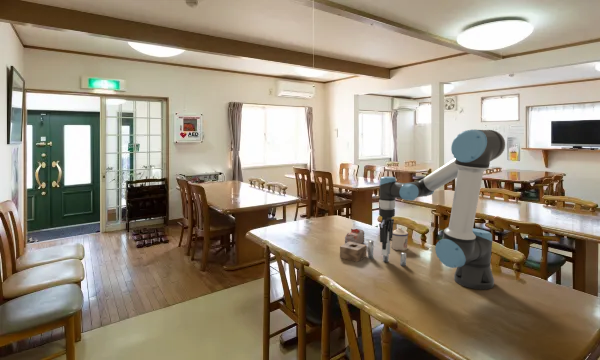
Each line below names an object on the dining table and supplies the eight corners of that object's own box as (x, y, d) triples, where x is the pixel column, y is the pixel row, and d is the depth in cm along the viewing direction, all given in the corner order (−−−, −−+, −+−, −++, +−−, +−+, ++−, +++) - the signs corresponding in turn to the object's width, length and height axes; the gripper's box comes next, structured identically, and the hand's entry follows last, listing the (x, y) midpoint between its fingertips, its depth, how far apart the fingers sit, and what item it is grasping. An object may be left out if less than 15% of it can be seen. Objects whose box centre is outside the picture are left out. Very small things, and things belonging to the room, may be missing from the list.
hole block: (366, 256, 176) (366, 245, 175) (357, 261, 168) (357, 250, 167) (349, 252, 182) (349, 241, 181) (339, 257, 174) (340, 246, 173)
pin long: (389, 260, 169) (389, 231, 167) (387, 262, 166) (387, 232, 165) (384, 259, 170) (384, 230, 168) (382, 261, 168) (382, 232, 166)
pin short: (406, 265, 163) (407, 253, 163) (404, 266, 161) (405, 254, 161) (401, 263, 165) (401, 252, 164) (399, 265, 163) (399, 253, 162)
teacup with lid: (407, 251, 182) (408, 230, 181) (390, 249, 186) (390, 229, 184) (408, 244, 194) (409, 225, 192) (392, 243, 197) (392, 223, 195)
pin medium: (374, 257, 173) (374, 240, 172) (371, 259, 171) (372, 242, 170) (369, 256, 175) (369, 239, 174) (367, 258, 173) (367, 241, 172)
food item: (357, 250, 185) (357, 232, 184) (343, 247, 189) (343, 230, 188) (365, 243, 197) (365, 227, 196) (352, 241, 201) (352, 225, 200)
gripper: (385, 204, 173) (384, 248, 176) (373, 210, 161) (372, 257, 164) (400, 206, 169) (398, 251, 172) (388, 211, 156) (387, 260, 159)
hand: (385, 254), depth 168 cm, fingers closed on pin long, 2 cm apart
